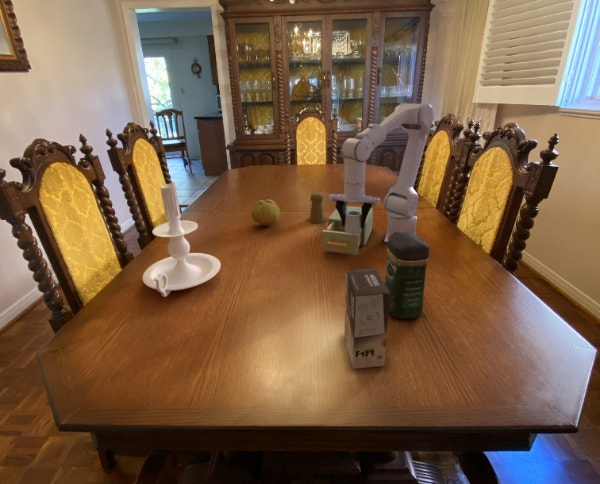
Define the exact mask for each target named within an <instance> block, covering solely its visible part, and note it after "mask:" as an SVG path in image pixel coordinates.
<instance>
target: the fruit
mask: <svg viewBox="0 0 600 484" xmlns="http://www.w3.org/2000/svg"><path fill="white" fill-rule="evenodd" d="M250 212H251V213H250V214H251V218H252V219H253V221H254V222H255V223H257V225H260V226H265V227H270V226H272V225H274V224H276V223H277V222H278V221H279V220H280V218H281V210H280V207H279V206H278V205H277V203H276V202H275V201H274V200H273V199H267V198H266V199H265V200H264V199H259V200H257V201H256V202H255V203H254V204H253V205H252V209H251V211H250Z"/></svg>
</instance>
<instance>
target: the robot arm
mask: <svg viewBox="0 0 600 484" xmlns="http://www.w3.org/2000/svg"><path fill="white" fill-rule="evenodd" d="M434 118H435V112H434V108H433V106H432V105H431V103H427V102H426V103H407V102H402V103H400V104H399V105H397V106H395V108H394V111H393V112H392V113H391V114H389V116H387V117H386V118H385V119H383V121H381V122H380V123H379V124H378V123H369V124H368V125H367V128H365V129H364V130H363V131H361V132H358V133H357V134H356V136H354V137H349V138H347V139H345V140H344V142H343V143H342V145H341V148H340V150H339V151H340V155H341V157H342V159H343V164H344V190H343V191H344V193H330V194H329V195H328V203H335V205H334V206H335V209H337V211H338V213H339V215H340V218H341V221H342V226H344V227H345V212H346V208H347V206H348V204H358V205H361V206H360V207H361V210H362V221H361V228H364V226H365V221H366V218H367V215H368V213H369V211H370V209H371V208H373V206H375V207H379V206H380V205H381V197H377V196H371V195H366V194H365V187H366V168H367V167H366V164H367V160H369V158H370V157H371V155H372V152H374V149H376V148H377V147H378V146H380V145H381V144H382V143H383V142H385V141H386V139H387V135H388V134H389V133H391V132H393V131H394V130H396V129H397V128H399V127H401V129H403V131H404V132H406V133H407V135H408V139H407V144H406V146H405V151H404V155H403V159H402V162H401V165H400V169H399V174H398V177H397V181H396V184H395V185H393V186H392V187H390V188H389V189H388V192H387V194H386V196H385V197H384V200H383V209H384V210H385V211H386V214H387V227H386V228H387V229H386V235H385V237H384V240H383V242H384V243H387V244H388V239H389V237H390V236H391V235H392V234H393V233H394V232H405V231H410V232H411V233H413V234H415V235H417V221H418V216H415V215H416V213H417V211H418V207H419V203H418V202H419V194H418V192H416V190H415V189H414V187H415V183H416V179H417V176H418V171H419V168H420V164H421V160H422V157H423V154H424V150H425V146H426V143H427V139H428V135H429V134H430V132H431V129H432V125H433V122H434Z"/></svg>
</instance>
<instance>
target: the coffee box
mask: <svg viewBox="0 0 600 484" xmlns="http://www.w3.org/2000/svg"><path fill="white" fill-rule="evenodd" d="M344 285H345V286H344V287H345V288H344V289H345V291H344V294H345V295H344V337H343V338H344V342H345V345H346V350H347V352H348V356H349V359H350V363H351V366H352V369H366V368H376V367H377V368H378V367H384V366H385V363H386V352H387V340H388V339H387V337H388V327H389V314H390V312H389V302H390V292H389V290H388V288H387V287H386V285H385V281H384V280H383V279H382V277H381V275H380V273H379V271H378V270H377V269H376V268H366V269H364V268H363V269H355V270H346V271H345V284H344Z"/></svg>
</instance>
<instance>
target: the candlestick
mask: <svg viewBox="0 0 600 484" xmlns="http://www.w3.org/2000/svg"><path fill="white" fill-rule="evenodd" d="M160 194H161V199H162V205H163V209H164V216H165V217H167V222H164V223H161V224H159V225H157V226H156V227H154V228H153V229H152V230H151V231H152V232H151V233H152V234H153V235H154V236H155V237H160V238H169V242H168V245H167V253H168V254H169V257H165V258H162V259H161V260H159V261H156V262H154V263H152V264H151V265H149V267H147V269H146V270H145V271H144V272H143V274H142V279H141V280H142V282H143V284H144V285H145V286H146V287H149V288H151V289H154V290H156V291H157V292H159V293H160V295H161V297H164V298H165V297H168V296H169V295H170V294H171V292H172V291H183V290H188V289H191V288H195V287H196V286H199V285H201V284H205V282H208V281H209V280H211V279H213V278H214V277H215V276H216V275H217V274H218V273H219V272H220V270H221V261H220V259H218V258H217V257H216V256H214V255H211V254H208V253H207V254H206V253H203V252H202V253H201V252H191V251H190V250H191V246H190V243H189V241H188V240H187V239H186V238H185V235H188V234H190V233H192V232H194V231H196V230H197V229H198V228H199V227H198V226H199V224H198V223H197V222H196V221H192V220H184V219H183V220H181V217H182V214H181V209H180V203H179V197H178V191H177V183H175V182H170V183H168V184H167V183H164V184H162V185H161V186H160Z"/></svg>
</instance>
